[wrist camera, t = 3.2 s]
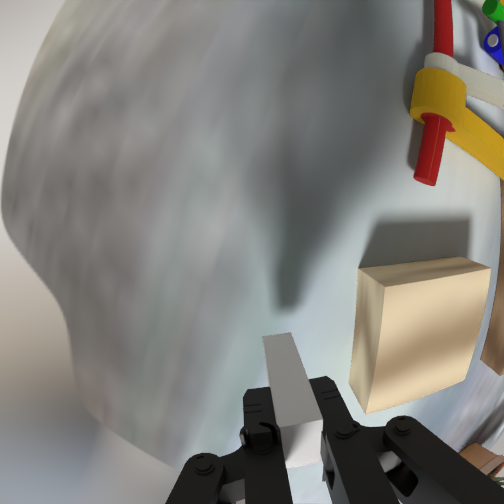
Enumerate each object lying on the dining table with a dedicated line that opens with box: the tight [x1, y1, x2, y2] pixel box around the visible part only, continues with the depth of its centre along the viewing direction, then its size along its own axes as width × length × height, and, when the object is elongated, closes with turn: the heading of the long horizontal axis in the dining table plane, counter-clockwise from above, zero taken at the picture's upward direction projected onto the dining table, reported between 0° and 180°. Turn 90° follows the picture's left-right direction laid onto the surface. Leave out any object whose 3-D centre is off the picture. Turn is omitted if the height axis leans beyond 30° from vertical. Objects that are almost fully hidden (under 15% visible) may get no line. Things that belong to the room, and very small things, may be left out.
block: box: [349, 256, 491, 415], centre depth 16 cm, size 9×9×4 cm
